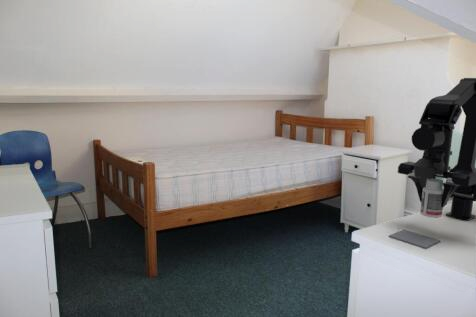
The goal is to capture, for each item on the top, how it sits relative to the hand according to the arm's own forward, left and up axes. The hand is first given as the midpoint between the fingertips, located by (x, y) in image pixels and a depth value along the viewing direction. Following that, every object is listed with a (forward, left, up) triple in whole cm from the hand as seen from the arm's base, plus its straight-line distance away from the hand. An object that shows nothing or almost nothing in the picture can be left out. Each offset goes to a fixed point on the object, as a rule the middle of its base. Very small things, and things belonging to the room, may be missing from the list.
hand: (432, 204), depth 111 cm
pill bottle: (0, 0, -3) cm, 3 cm away
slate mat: (+8, 0, -8) cm, 11 cm away
